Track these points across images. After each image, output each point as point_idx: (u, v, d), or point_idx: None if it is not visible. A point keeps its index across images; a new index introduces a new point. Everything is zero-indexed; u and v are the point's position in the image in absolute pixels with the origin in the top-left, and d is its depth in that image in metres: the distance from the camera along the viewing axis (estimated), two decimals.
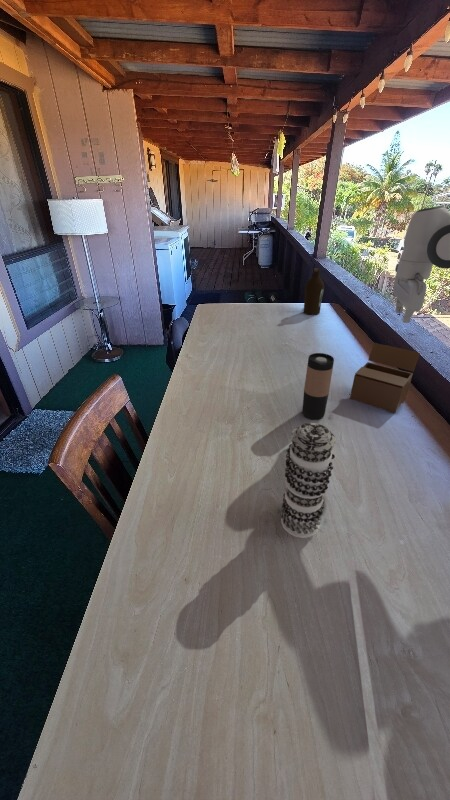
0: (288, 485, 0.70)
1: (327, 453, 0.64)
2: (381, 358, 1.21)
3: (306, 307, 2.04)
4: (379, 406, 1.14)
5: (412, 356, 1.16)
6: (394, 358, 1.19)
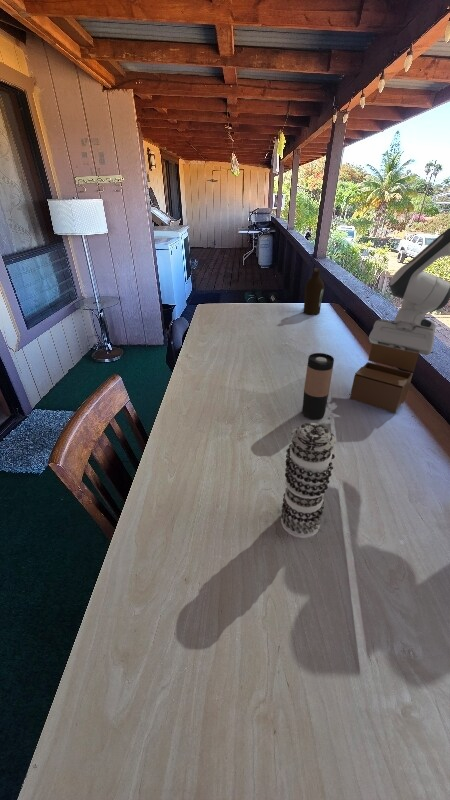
0: (288, 485, 0.70)
1: (327, 453, 0.64)
2: (381, 358, 1.21)
3: (306, 307, 2.04)
4: (379, 406, 1.14)
5: (411, 357, 1.14)
6: (393, 359, 1.18)
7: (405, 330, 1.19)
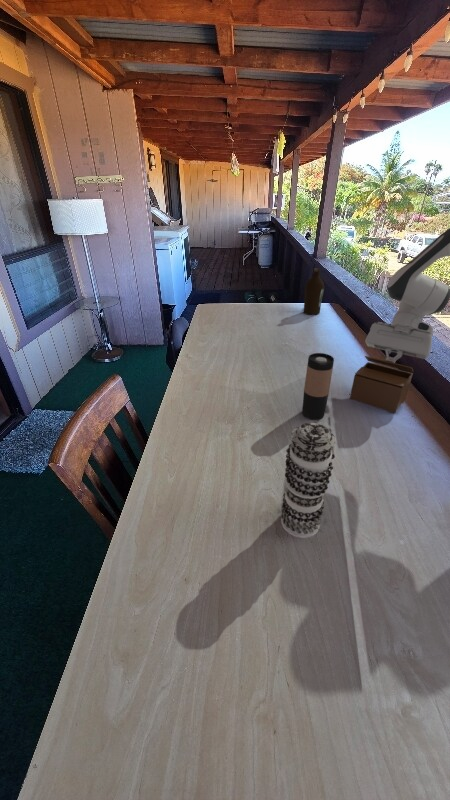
0: (288, 485, 0.70)
1: (327, 453, 0.64)
2: (379, 362, 1.20)
3: (306, 307, 2.04)
4: (379, 406, 1.14)
5: (406, 367, 1.13)
6: (390, 365, 1.17)
7: (402, 333, 1.16)
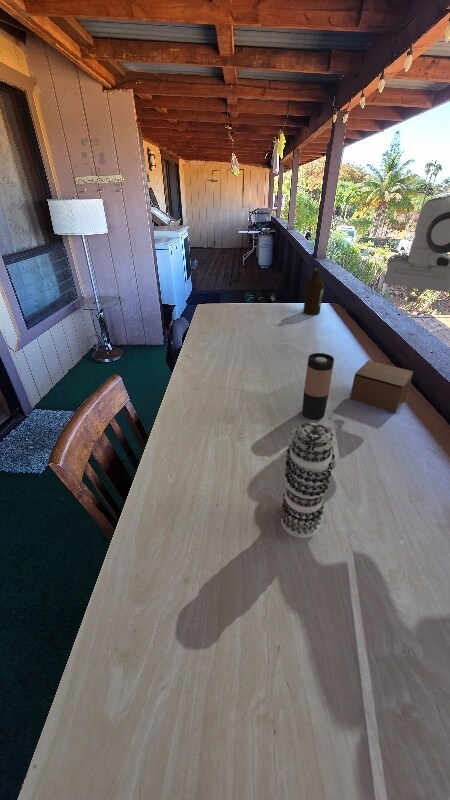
0: (288, 485, 0.70)
1: (327, 453, 0.64)
2: None
3: (306, 307, 2.04)
4: (379, 406, 1.14)
5: None
6: None
7: (421, 270, 1.09)
